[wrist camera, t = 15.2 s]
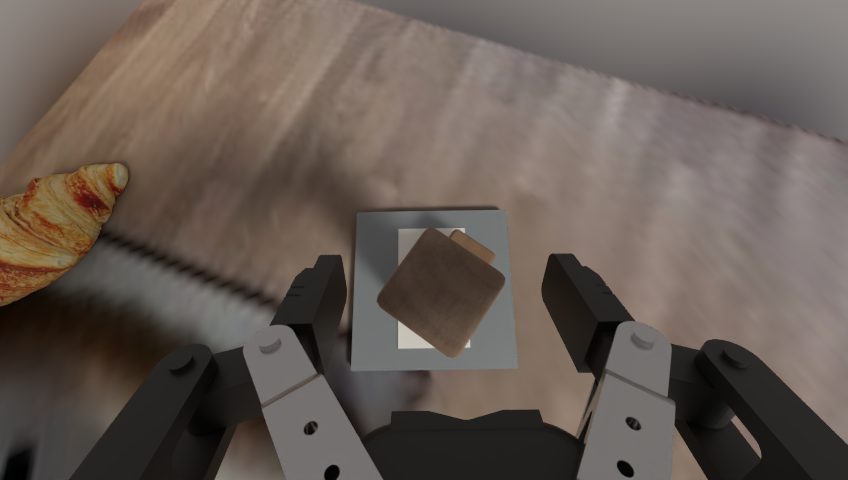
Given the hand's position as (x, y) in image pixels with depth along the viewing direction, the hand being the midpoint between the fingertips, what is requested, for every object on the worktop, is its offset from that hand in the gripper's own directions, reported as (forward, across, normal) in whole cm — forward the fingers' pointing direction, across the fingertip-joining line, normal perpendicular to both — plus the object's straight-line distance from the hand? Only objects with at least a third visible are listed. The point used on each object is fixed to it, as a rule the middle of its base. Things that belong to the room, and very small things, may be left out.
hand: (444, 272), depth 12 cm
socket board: (+16, 0, +14) cm, 21 cm away
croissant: (+21, +40, +11) cm, 47 cm away
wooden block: (+15, -2, +13) cm, 20 cm away
